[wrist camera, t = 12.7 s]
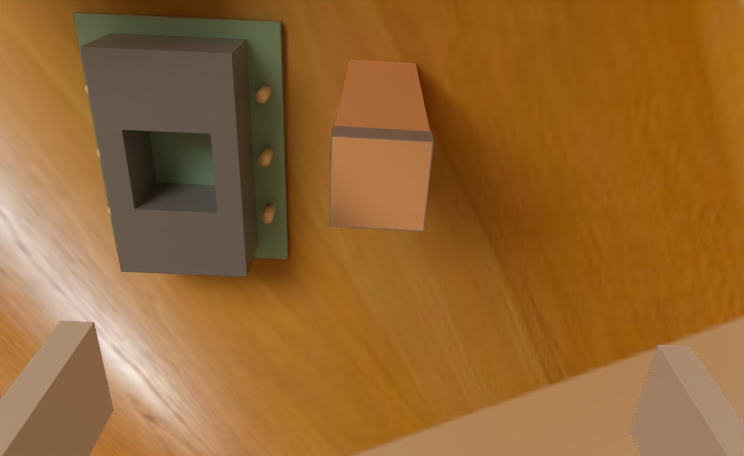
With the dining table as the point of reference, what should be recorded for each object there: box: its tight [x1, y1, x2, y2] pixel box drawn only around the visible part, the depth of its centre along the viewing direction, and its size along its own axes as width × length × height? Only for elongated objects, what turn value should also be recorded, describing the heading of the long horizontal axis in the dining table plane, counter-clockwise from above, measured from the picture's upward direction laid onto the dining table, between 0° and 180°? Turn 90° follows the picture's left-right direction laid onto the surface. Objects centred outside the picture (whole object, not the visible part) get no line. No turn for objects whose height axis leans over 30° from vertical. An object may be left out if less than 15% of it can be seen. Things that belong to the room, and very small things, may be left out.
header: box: [73, 12, 288, 277], centre depth 37 cm, size 16×12×4 cm
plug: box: [329, 59, 434, 232], centre depth 31 cm, size 4×4×14 cm
